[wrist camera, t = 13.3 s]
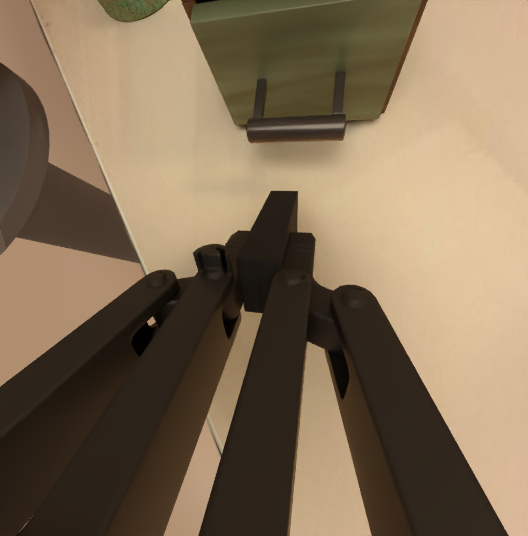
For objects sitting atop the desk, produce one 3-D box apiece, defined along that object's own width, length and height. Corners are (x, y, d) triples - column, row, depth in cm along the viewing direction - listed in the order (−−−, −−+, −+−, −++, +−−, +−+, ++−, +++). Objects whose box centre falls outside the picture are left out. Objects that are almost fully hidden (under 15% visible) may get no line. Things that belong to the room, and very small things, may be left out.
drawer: (375, 171, 18) (423, 75, 10) (229, 172, 20) (178, 94, 12) (387, -33, 20) (434, -243, 12) (252, -11, 22) (221, -174, 14)
